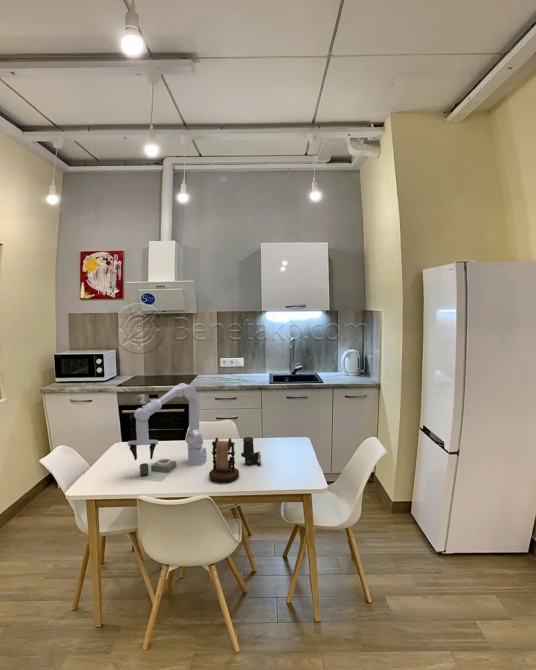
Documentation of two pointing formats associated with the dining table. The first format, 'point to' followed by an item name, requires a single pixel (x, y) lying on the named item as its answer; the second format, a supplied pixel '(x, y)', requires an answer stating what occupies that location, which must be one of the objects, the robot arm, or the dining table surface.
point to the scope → (250, 452)
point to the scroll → (223, 461)
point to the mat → (153, 475)
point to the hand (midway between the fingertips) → (143, 459)
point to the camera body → (163, 466)
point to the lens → (144, 470)
